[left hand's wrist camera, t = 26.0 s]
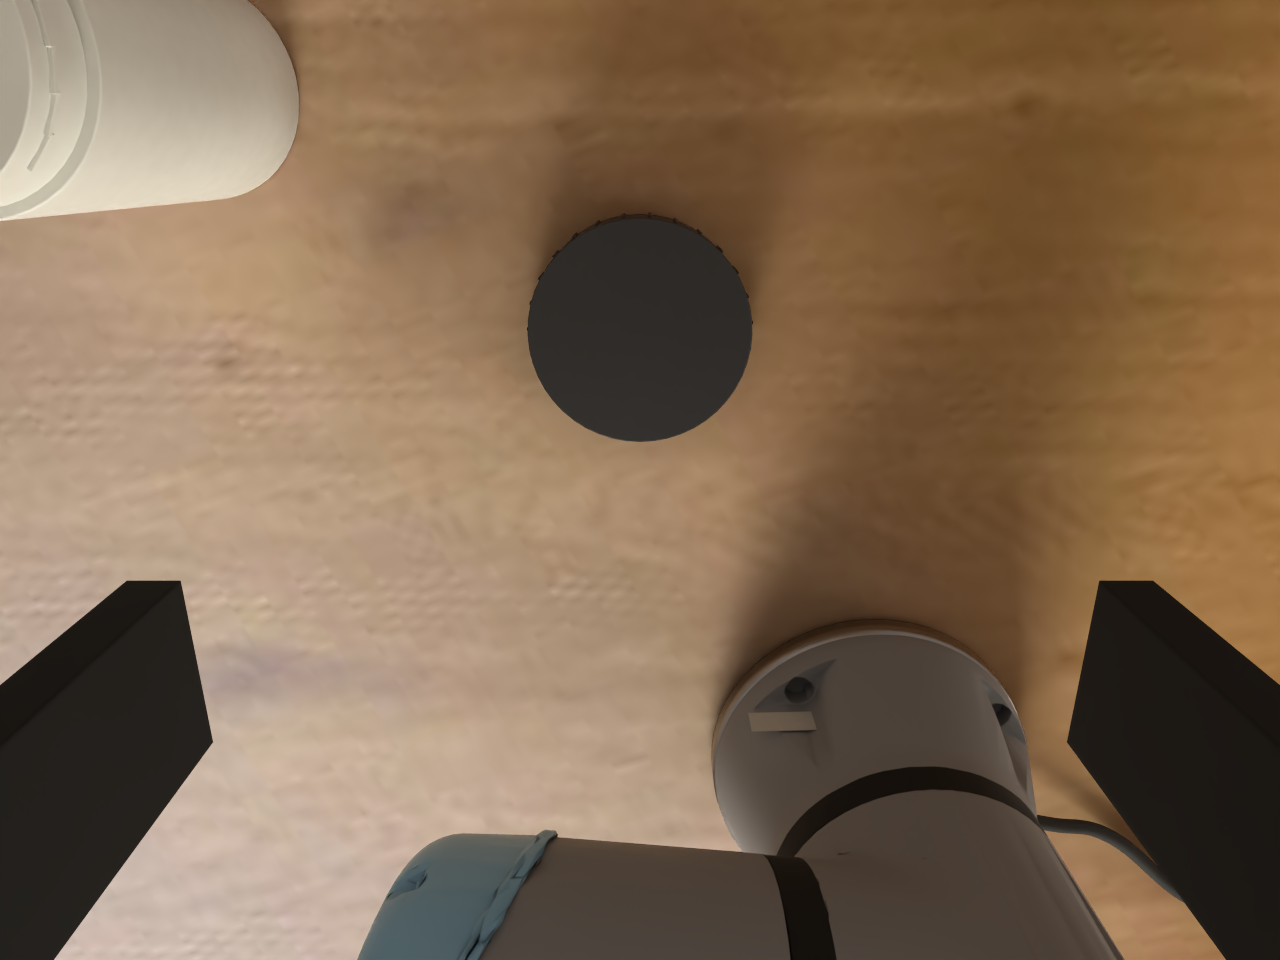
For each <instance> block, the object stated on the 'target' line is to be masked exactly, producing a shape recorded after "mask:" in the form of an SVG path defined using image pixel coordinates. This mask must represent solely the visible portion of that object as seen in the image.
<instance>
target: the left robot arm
mask: <svg viewBox="0 0 1280 960" xmlns="http://www.w3.org/2000/svg"><path fill="white" fill-rule="evenodd" d="M212 743H213V740H212V735H211V730H210V725H209V720H208V715H207V710H206V705H205V700H204V695H203V690H202V685H201V680H200V675H199V670H198V665H197V660H196V655H195V650H194V645H193V640H192V635H191V630H190V625H189V620H188V615H187V610H186V605H185V600H184V595H183V590H182V585H181V581H126V582H125V583H124V584H122V585H121V586H120V587H119V588H118V589H116V590H115V591H114V592H113V593H112V594H110V595H109V596H108V597H107V598H105V599H104V600H103V601H102V602H101V603H99V604H98V605H97V606H96V607H95V608H93V609H92V610H91V611H90V612H88V613H87V614H86V615H85V616H84V617H82V618H81V619H80V620H79V621H78V622H76V623H75V624H74V625H73V626H71V627H70V628H69V629H68V630H67V631H65V632H64V633H63V634H62V635H61V636H59V637H58V638H57V639H56V640H54V641H53V642H52V643H51V644H50V645H48V646H47V647H46V648H45V649H44V650H42V651H41V652H40V653H39V654H37V655H36V656H35V657H34V658H33V659H31V660H30V661H29V662H28V663H27V664H25V665H24V666H23V667H22V668H20V669H19V670H18V671H17V672H16V673H14V674H13V675H12V676H11V677H10V678H8V679H7V680H6V681H5V682H3V683H2V684H1V685H0V960H54V959H55V957H56V956H57V955H58V953H59V952H60V951H61V949H62V948H63V946H64V945H65V944H66V942H67V941H68V940H69V938H70V937H71V936H72V934H73V933H74V931H75V930H76V929H77V927H78V926H79V925H80V923H81V922H82V920H83V919H84V918H85V916H86V915H87V914H88V912H89V911H90V910H91V908H92V907H93V905H94V904H95V903H96V901H97V900H98V899H99V897H100V896H101V894H102V893H103V892H104V890H105V889H106V888H107V886H108V885H109V884H110V882H111V881H112V879H113V878H114V877H115V875H116V874H117V873H118V871H119V870H120V869H121V867H122V866H123V864H124V863H125V862H126V860H127V859H128V858H129V856H130V855H131V853H132V852H133V851H134V849H135V848H136V847H137V845H138V844H139V843H140V841H141V840H142V838H143V837H144V836H145V834H146V833H147V832H148V830H149V829H150V827H151V826H152V825H153V823H154V822H155V821H156V819H157V818H158V817H159V815H160V814H161V812H162V811H163V810H164V808H165V807H166V806H167V804H168V803H169V802H170V800H171V799H172V797H173V796H174V795H175V793H176V792H177V791H178V789H179V788H180V786H181V785H182V784H183V782H184V781H185V780H186V778H187V777H188V776H189V774H190V773H191V771H192V770H193V769H194V767H195V766H196V765H197V763H198V762H199V760H200V759H201V758H202V756H203V755H204V754H205V752H206V751H207V750H208V748H209V747H210V745H211V744H212ZM1067 743H1068V744H1069V745H1070V747H1071V748H1072V750H1073V751H1074V752H1075V754H1076V755H1077V756H1078V758H1079V759H1080V760H1081V762H1082V763H1083V765H1084V766H1085V767H1086V769H1087V770H1088V771H1089V773H1090V774H1091V776H1092V777H1093V778H1094V780H1095V781H1096V782H1097V784H1098V785H1099V786H1100V788H1101V789H1102V791H1103V792H1104V793H1105V795H1106V796H1107V797H1108V799H1109V800H1110V802H1111V803H1112V804H1113V806H1114V807H1115V808H1116V810H1117V811H1118V812H1119V814H1120V815H1121V817H1122V818H1123V819H1124V821H1125V822H1126V823H1127V825H1128V826H1129V827H1130V829H1131V830H1132V832H1133V833H1134V834H1135V836H1136V837H1137V838H1138V840H1139V841H1140V843H1141V844H1142V845H1143V847H1144V848H1145V849H1146V851H1147V852H1148V853H1149V855H1150V856H1151V858H1152V859H1153V860H1154V862H1155V863H1156V864H1157V865H1156V864H1155V863H1154V862H1153V861H1152V860H1151V859H1150V858H1149V857H1147V856H1146V855H1145V854H1144V853H1143V852H1142V851H1141V850H1140V849H1139V848H1138V847H1136V846H1135V845H1134V844H1133V843H1132V842H1130V841H1129V840H1127V839H1126V838H1125V837H1123V836H1122V835H1120V834H1118V833H1117V832H1115V831H1113V830H1111V829H1109V828H1107V827H1105V826H1103V825H1100V824H1097V823H1094V822H1089V821H1083V820H1074V819H1059V818H1052V817H1046V816H1041V815H1037V813H1036V806H1035V799H1034V792H1033V784H1032V777H1031V770H1030V763H1029V756H1028V748H1027V742H1026V738H1025V733H1024V730H1023V727H1022V724H1021V722H1020V719H1019V717H1018V714H1017V712H1016V709H1015V707H1014V705H1013V703H1012V701H1011V699H1010V697H1009V696H1008V694H1007V693H1006V691H1005V689H1004V688H1003V686H1002V685H1001V684H1000V682H999V681H998V679H997V678H996V676H995V675H994V674H993V672H992V671H991V670H990V669H989V667H988V666H987V665H986V664H985V663H984V662H983V661H982V660H981V659H980V658H979V657H978V656H977V655H976V654H975V653H973V652H972V651H971V650H970V649H969V648H967V647H966V646H964V645H963V644H961V643H960V642H958V641H956V640H955V639H953V638H951V637H949V636H947V635H945V634H943V633H941V632H938V631H935V630H933V629H930V628H927V627H924V626H920V625H916V624H912V623H907V622H901V621H892V620H859V621H850V622H844V623H838V624H834V625H830V626H826V627H822V628H819V629H816V630H813V631H811V632H808V633H805V634H803V635H801V636H799V637H796V638H794V639H792V640H790V641H788V642H787V643H785V644H783V645H781V646H780V647H778V648H777V649H775V650H774V651H772V652H771V653H769V654H768V655H766V656H765V657H764V658H763V659H761V660H760V661H759V662H758V663H757V664H755V665H754V666H753V667H752V668H751V669H750V670H749V671H748V672H747V673H746V674H745V675H744V677H743V678H742V679H741V680H740V681H739V683H738V684H737V685H736V686H735V688H734V689H733V691H732V692H731V694H730V695H729V697H728V699H727V701H726V702H725V704H724V706H723V708H722V710H721V713H720V715H719V718H718V720H717V724H716V727H715V731H714V735H713V742H712V756H711V759H712V771H713V779H714V787H715V792H716V797H717V801H718V804H719V807H720V810H721V813H722V815H723V818H724V821H725V823H726V826H727V828H728V830H729V832H730V834H731V835H732V837H733V838H734V840H735V842H736V843H737V845H738V846H739V847H740V849H741V850H742V852H734V851H721V850H709V849H696V848H684V847H671V846H659V845H646V844H634V843H621V842H609V841H596V840H584V839H571V838H559V837H557V836H558V834H557V832H556V831H551V830H544V831H542V832H541V833H539V834H538V835H536V836H535V835H499V834H455V835H450V836H446V837H443V838H441V839H438V840H436V841H434V842H432V843H431V844H429V845H427V846H426V847H425V848H423V849H422V850H421V851H420V852H419V853H418V854H417V855H416V856H414V857H413V858H412V860H411V861H410V862H409V863H408V864H407V865H406V867H405V868H404V869H403V871H402V872H401V873H400V875H399V876H398V878H397V879H396V881H395V882H394V884H393V886H392V888H391V889H390V891H389V893H388V895H387V896H386V898H385V900H384V902H383V904H382V906H381V908H380V910H379V912H378V914H377V916H376V918H375V920H374V922H373V924H372V927H371V929H370V931H369V933H368V936H367V938H366V940H365V942H364V945H363V947H362V950H361V952H360V954H359V957H358V959H357V960H1124V958H1123V957H1122V955H1121V953H1120V952H1119V950H1118V949H1117V947H1116V945H1115V944H1114V942H1113V941H1112V939H1111V937H1110V936H1109V934H1108V933H1107V931H1106V929H1105V928H1104V926H1103V925H1102V923H1101V921H1100V920H1099V918H1098V917H1097V915H1096V913H1095V912H1094V910H1093V909H1092V907H1091V905H1090V904H1089V902H1088V900H1087V899H1086V897H1085V896H1084V894H1083V892H1082V891H1081V889H1080V888H1079V886H1078V884H1077V883H1076V881H1075V880H1074V878H1073V876H1072V875H1071V873H1070V872H1069V870H1068V868H1067V867H1066V865H1065V864H1064V862H1063V860H1062V859H1061V857H1060V855H1059V854H1058V852H1057V851H1056V849H1055V847H1054V846H1053V844H1052V843H1051V841H1050V840H1049V838H1048V836H1047V835H1046V833H1045V831H1044V830H1046V831H1052V832H1059V833H1072V834H1085V835H1090V836H1093V837H1096V838H1099V839H1101V840H1103V841H1105V842H1107V843H1109V844H1111V845H1112V846H1114V847H1116V848H1117V849H1119V850H1120V851H1121V852H1123V853H1124V854H1125V855H1127V856H1128V857H1129V858H1130V859H1132V860H1133V861H1134V862H1135V863H1136V864H1137V865H1138V866H1139V867H1140V868H1141V869H1142V870H1143V871H1145V872H1146V873H1147V874H1148V875H1149V876H1150V877H1151V878H1152V879H1153V880H1154V881H1155V882H1156V883H1158V884H1159V885H1160V886H1161V887H1162V888H1164V889H1165V890H1166V891H1167V892H1169V893H1170V894H1172V895H1173V896H1174V897H1176V898H1178V899H1179V900H1181V901H1182V902H1184V903H1185V904H1186V905H1187V907H1188V908H1189V910H1190V911H1191V912H1192V914H1193V915H1194V916H1195V918H1196V919H1197V920H1198V922H1199V923H1200V925H1201V926H1202V927H1203V929H1204V930H1205V931H1206V933H1207V934H1208V936H1209V937H1210V938H1211V940H1212V941H1213V942H1214V944H1215V945H1216V946H1217V948H1218V949H1219V951H1220V952H1221V953H1222V955H1223V956H1224V957H1225V959H1226V960H1280V685H1279V684H1278V683H1277V682H1275V681H1274V680H1273V679H1272V678H1270V677H1269V676H1268V675H1267V674H1266V673H1264V672H1263V671H1262V670H1261V669H1260V668H1258V667H1257V666H1256V665H1255V664H1253V663H1252V662H1251V661H1250V660H1249V659H1247V658H1246V657H1245V656H1244V655H1243V654H1241V653H1240V652H1239V651H1238V650H1236V649H1235V648H1234V647H1233V646H1232V645H1230V644H1229V643H1228V642H1227V641H1226V640H1224V639H1223V638H1222V637H1221V636H1219V635H1218V634H1217V633H1216V632H1215V631H1213V630H1212V629H1211V628H1210V627H1209V626H1207V625H1206V624H1205V623H1204V622H1202V621H1201V620H1200V619H1199V618H1198V617H1196V616H1195V615H1194V614H1193V613H1192V612H1190V611H1189V610H1188V609H1187V608H1185V607H1184V606H1183V605H1182V604H1181V603H1179V602H1178V601H1177V600H1176V599H1175V598H1173V597H1172V596H1171V595H1170V594H1168V593H1167V592H1166V591H1165V590H1164V589H1162V588H1161V587H1160V586H1159V585H1158V584H1156V583H1155V582H1154V581H1099V585H1098V590H1097V595H1096V600H1095V605H1094V610H1093V615H1092V620H1091V625H1090V630H1089V635H1088V640H1087V645H1086V650H1085V655H1084V660H1083V665H1082V670H1081V675H1080V680H1079V685H1078V690H1077V695H1076V700H1075V705H1074V710H1073V715H1072V720H1071V725H1070V730H1069V735H1068V740H1067Z"/></svg>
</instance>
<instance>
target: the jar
mask: <svg viewBox="0 0 1280 960" xmlns="http://www.w3.org/2000/svg"><path fill="white" fill-rule="evenodd" d="M298 118H299V93H298V86H297V81H296V76H295V72H294V69H293V66H292V62H291V60H290V58H289V55H288V53H287V51H286V48H285V46H284V45H283V43H282V41H281V39H280V37H279V36H278V34H277V32H276V31H275V30H274V28H273V27H272V25H271V24H270V23H269V21H268V20H267V19H266V18H265V17H264V16H263V15H262V13H261V12H260V11H259V10H258V9H257V8H256V7H255V6H253V5H252V4H251V3H250V2H249V1H248V0H0V221H3V220H14V219H24V218H34V217H44V216H54V215H65V214H75V213H85V212H95V211H106V210H116V209H126V208H136V207H146V206H157V205H167V204H177V203H187V202H197V201H208V200H218V199H226V198H231V197H236V196H239V195H242V194H244V193H247V192H249V191H251V190H253V189H255V188H257V187H258V186H260V185H261V184H263V183H264V182H265V181H266V180H268V179H269V178H270V177H271V176H272V175H273V174H274V173H275V172H276V171H277V170H278V168H279V167H280V166H281V164H282V163H283V161H284V160H285V158H286V156H287V155H288V153H289V151H290V149H291V146H292V143H293V141H294V138H295V135H296V130H297V125H298Z"/></svg>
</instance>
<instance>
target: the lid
mask: <svg viewBox="0 0 1280 960" xmlns="http://www.w3.org/2000/svg"><path fill="white" fill-rule="evenodd" d="M722 252H723V251H722V250H721V248H720V247H719V246H718V245H717V246H715V245H714V244H713V243H712V242H711V241H709V240H708V239H707V238H706V237H705V236H703V235H702V233H701V231H700V230H698V229H697V231H696V230H695V229H693V228H691V227H689V226H687V225H685V224H683V223H681V222H678V220H677V219H676V218H674V219H673V220H672V219H669V218H665V217H661V216H656V215H651V213H648V215H644V214H636V215H625V213H624V214H622V216H619V217H615V218H610V219H608V220H605V221H602V222H600V220H599V221H597V222H596V224H595V225H593V226H591V227H589V228H587V229H585V230H584V231H582V232H581V233H580V234H578V233H576V234H575V235H574V236H573V237H572V240H571V241H569V242H568V243H567V244H566V245H565V246H564V247H563V248H562V249H561V250H560V252H559V251H557V252H556V253H555V254H554V255H553V256H552V257H553V258H554V259H553V260H552V261H551V262H550V264H549V265H548V266H547V268H546V270H545V271H544V272H543V273H542V274H541V275H540V277H539V278H538V280H539V282H538V285H537V287H536V289H535V291H534V295H533V298H532V300H531V301H530V311H529V317H528V327H527V331H528V341H529V350H530V355H531V358H532V362H533V365H534V368H535V370H536V373H537V375H538V378H539V380H540V381H541V383H542V385H543V387H544V389H545V390H546V392H547V393H548V394H549V396H550V397H551V399H552V400H553V401H554V402H555V403H556V404H557V406H558V407H559V408H560V409H561V410H562V411H563V412H564V413H566V414H567V415H568V416H569V417H570V418H572V419H573V420H574V421H576V422H577V423H579V424H580V425H582V426H584V427H585V428H587V429H589V430H591V431H593V432H596V433H598V434H600V435H603V436H607V437H610V438H613V439H618V440H624V441H635V442H645V441H656V440H662V439H667V438H670V437H673V436H677V435H680V434H682V433H684V432H687V431H689V430H691V429H693V428H695V427H696V426H698V425H700V424H701V423H703V422H704V421H706V420H707V419H708V418H710V417H711V416H712V415H713V414H714V413H716V412H717V411H718V410H719V409H720V408H721V407H722V405H723V404H724V403H725V402H726V401H727V400H728V399H729V397H730V396H731V394H732V393H733V392H734V390H735V389H736V387H737V385H738V383H739V381H740V379H741V378H742V375H743V373H744V370H745V368H746V365H747V362H748V358H749V354H750V350H751V341H752V324H753V321H752V318H751V311H750V305H749V302H748V298H749V296H748V295H747V293H746V291H745V289H744V287H743V285H742V282H741V280H740V278H739V276H738V275H737V274H739V273H738V271H737V270H736V269H735V267H734V266H732V265H731V264H730V262H729V261H728V260H727V259H726V258H725V256H724V255H723V254H722Z"/></svg>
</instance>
